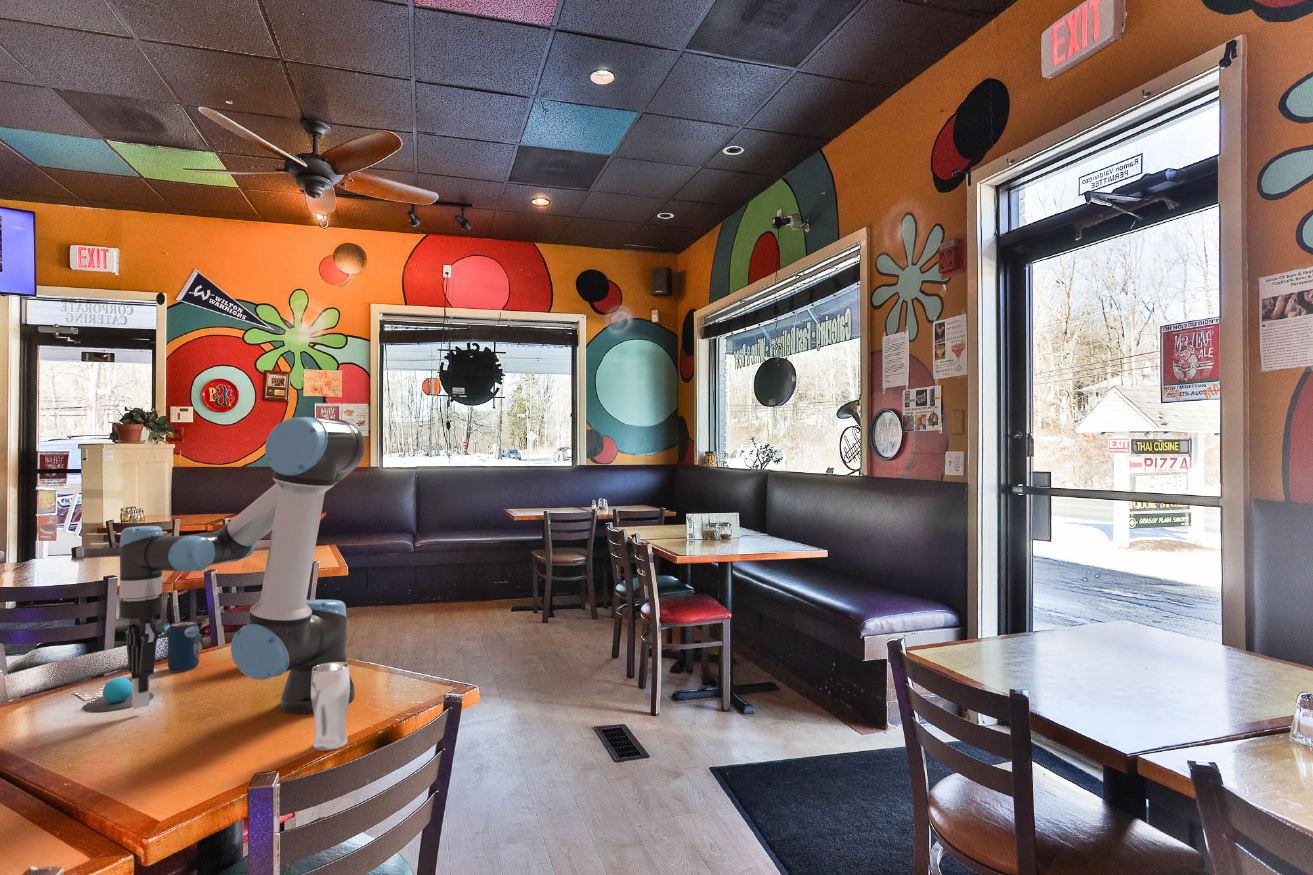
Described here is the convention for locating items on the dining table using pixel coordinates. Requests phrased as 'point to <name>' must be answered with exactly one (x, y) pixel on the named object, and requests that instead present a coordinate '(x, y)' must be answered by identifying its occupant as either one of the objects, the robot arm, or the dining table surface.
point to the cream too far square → (90, 697)
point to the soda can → (183, 646)
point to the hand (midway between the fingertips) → (140, 706)
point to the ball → (117, 690)
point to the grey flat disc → (110, 704)
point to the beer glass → (330, 704)
